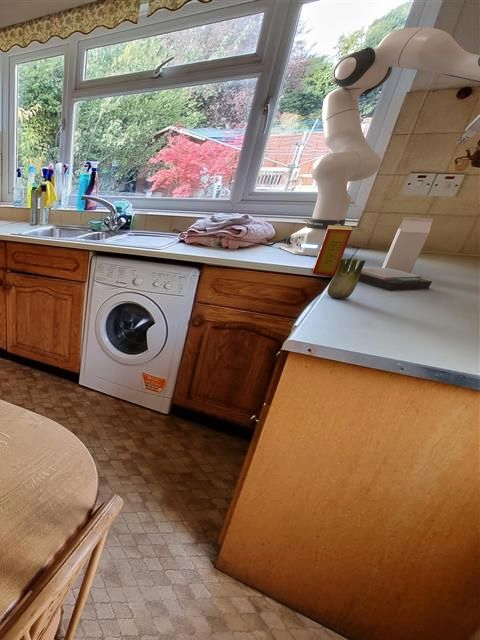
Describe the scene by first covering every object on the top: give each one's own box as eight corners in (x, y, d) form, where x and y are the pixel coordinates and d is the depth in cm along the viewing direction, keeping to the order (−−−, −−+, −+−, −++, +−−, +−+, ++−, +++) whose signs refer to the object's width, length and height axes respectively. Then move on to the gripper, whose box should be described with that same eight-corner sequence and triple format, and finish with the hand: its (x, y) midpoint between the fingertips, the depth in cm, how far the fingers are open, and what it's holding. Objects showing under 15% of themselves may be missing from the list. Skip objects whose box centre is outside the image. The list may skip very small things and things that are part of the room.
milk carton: (408, 278, 149) (435, 219, 140) (381, 275, 153) (405, 218, 144) (406, 273, 154) (431, 217, 145) (380, 271, 158) (403, 216, 149)
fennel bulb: (352, 298, 131) (368, 258, 125) (345, 301, 129) (361, 261, 123) (330, 294, 135) (344, 255, 130) (322, 297, 133) (337, 257, 127)
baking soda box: (334, 275, 154) (352, 228, 146) (312, 273, 157) (328, 227, 150) (334, 270, 161) (351, 225, 153) (313, 268, 164) (328, 224, 156)
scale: (347, 277, 151) (351, 268, 150) (383, 276, 151) (387, 267, 150) (388, 290, 137) (393, 280, 135) (428, 289, 137) (433, 278, 136)
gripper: (487, 99, 138) (444, 144, 145) (509, 76, 122) (460, 128, 129) (509, 107, 135) (465, 152, 142) (535, 84, 120) (484, 136, 127)
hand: (463, 140), depth 136 cm, fingers open, 8 cm apart
